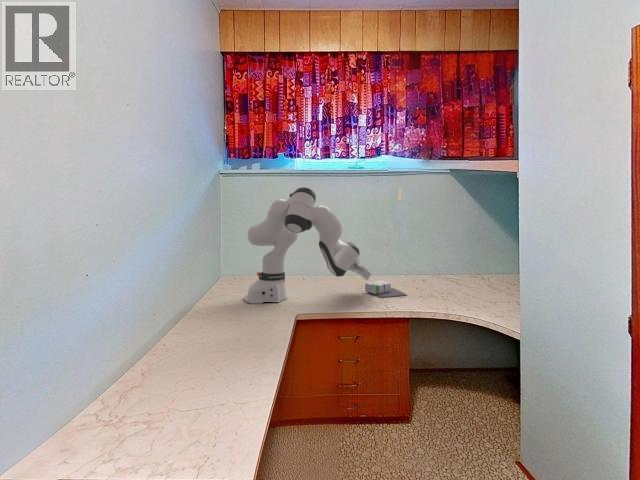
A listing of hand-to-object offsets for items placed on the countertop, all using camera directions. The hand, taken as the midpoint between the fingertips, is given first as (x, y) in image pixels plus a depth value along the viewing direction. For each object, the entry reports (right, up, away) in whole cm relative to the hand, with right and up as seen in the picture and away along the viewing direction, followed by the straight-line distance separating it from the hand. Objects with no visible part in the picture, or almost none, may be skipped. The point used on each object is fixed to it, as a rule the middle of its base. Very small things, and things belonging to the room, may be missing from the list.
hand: (367, 278), depth 239 cm
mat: (+11, -8, +4) cm, 14 cm away
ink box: (+2, -5, +1) cm, 6 cm away
